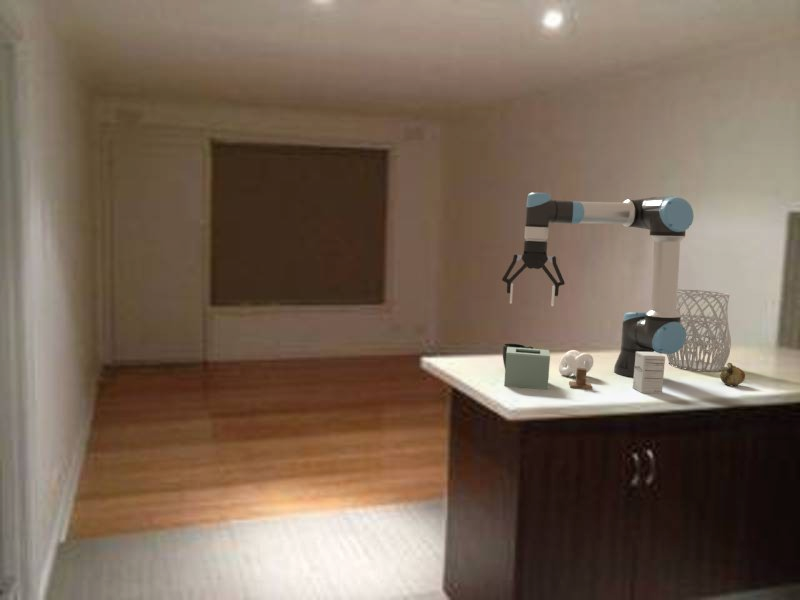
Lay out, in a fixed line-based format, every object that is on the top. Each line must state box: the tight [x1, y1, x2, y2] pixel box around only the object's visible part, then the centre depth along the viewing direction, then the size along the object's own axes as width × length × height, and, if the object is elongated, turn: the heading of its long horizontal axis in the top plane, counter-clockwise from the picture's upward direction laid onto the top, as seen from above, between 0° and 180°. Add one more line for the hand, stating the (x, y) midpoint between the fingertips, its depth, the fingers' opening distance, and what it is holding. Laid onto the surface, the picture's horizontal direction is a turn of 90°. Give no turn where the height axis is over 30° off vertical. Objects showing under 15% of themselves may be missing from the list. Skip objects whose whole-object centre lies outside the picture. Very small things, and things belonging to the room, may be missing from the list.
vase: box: [666, 289, 732, 372], centre depth 298 cm, size 24×24×30 cm
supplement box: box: [632, 351, 666, 395], centre depth 248 cm, size 7×7×13 cm
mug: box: [502, 343, 534, 368], centre depth 271 cm, size 8×12×10 cm
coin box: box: [503, 347, 551, 390], centre depth 250 cm, size 14×12×11 cm
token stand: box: [568, 368, 593, 390], centre depth 250 cm, size 7×7×6 cm
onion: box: [719, 362, 746, 386], centre depth 265 cm, size 8×8×8 cm
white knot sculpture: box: [558, 349, 594, 377], centre depth 266 cm, size 11×12×9 cm
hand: (531, 304), depth 248 cm, fingers open, 13 cm apart
